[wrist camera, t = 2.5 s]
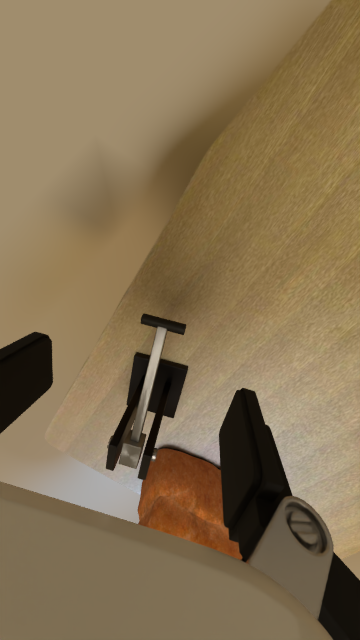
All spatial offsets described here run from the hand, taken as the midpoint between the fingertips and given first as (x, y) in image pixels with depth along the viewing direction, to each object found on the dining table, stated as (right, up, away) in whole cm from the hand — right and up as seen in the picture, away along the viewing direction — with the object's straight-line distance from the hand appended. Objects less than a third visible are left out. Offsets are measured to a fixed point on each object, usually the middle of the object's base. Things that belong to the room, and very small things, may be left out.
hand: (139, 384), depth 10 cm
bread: (+8, -32, +34) cm, 47 cm away
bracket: (-2, -8, +26) cm, 27 cm away
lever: (-2, -5, +15) cm, 16 cm away
